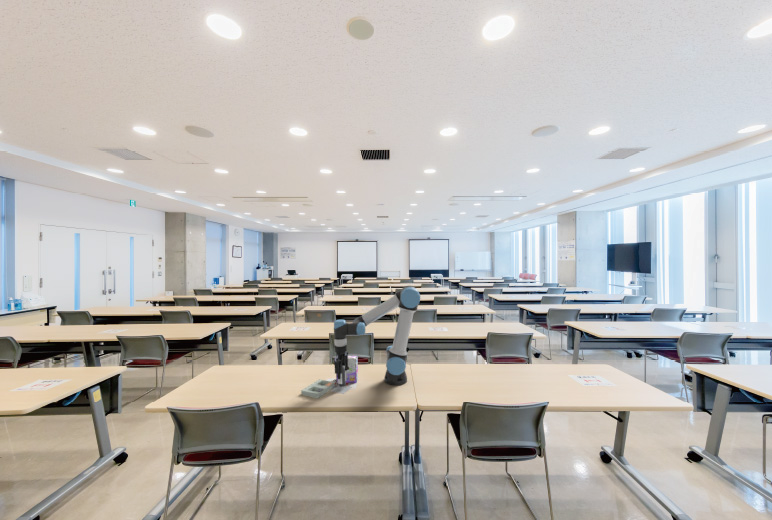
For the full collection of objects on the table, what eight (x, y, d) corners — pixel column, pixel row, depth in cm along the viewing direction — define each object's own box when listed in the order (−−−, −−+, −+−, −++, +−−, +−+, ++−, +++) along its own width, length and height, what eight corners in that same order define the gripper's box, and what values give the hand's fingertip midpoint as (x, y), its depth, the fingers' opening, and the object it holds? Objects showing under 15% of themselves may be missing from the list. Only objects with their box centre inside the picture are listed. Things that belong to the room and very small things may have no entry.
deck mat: (352, 387, 200) (352, 387, 200) (343, 394, 191) (343, 393, 191) (338, 385, 204) (338, 384, 204) (330, 391, 195) (330, 390, 195)
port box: (335, 386, 202) (334, 381, 202) (317, 398, 185) (317, 393, 185) (319, 383, 207) (319, 378, 207) (301, 395, 190) (301, 389, 190)
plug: (346, 384, 198) (345, 365, 198) (343, 386, 195) (342, 367, 194) (341, 383, 200) (340, 364, 200) (337, 385, 196) (336, 366, 196)
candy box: (358, 379, 212) (357, 355, 212) (356, 383, 207) (356, 358, 206) (338, 379, 214) (337, 355, 213) (335, 382, 208) (335, 358, 208)
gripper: (342, 340, 206) (344, 376, 207) (327, 348, 191) (329, 386, 191) (352, 341, 203) (354, 377, 204) (338, 349, 187) (339, 388, 188)
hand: (342, 382), depth 197 cm, fingers closed on plug, 4 cm apart
